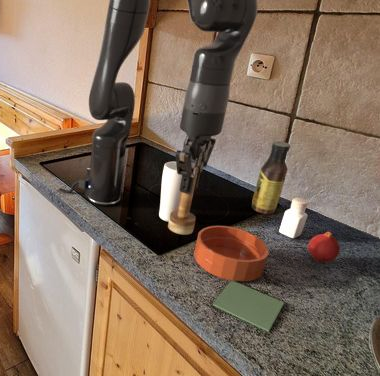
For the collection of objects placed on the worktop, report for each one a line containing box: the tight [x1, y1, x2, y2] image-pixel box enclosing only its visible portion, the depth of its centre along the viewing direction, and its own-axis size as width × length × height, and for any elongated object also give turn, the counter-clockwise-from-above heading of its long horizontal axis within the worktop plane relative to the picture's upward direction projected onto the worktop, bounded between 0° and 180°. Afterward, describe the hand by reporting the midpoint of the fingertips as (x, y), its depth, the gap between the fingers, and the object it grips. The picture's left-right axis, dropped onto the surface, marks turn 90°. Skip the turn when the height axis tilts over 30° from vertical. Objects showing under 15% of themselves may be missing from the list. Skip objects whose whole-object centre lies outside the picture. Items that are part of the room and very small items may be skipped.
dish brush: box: [167, 167, 198, 236], centre depth 83 cm, size 5×5×14 cm
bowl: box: [193, 225, 270, 282], centre depth 89 cm, size 14×14×6 cm
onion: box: [307, 231, 341, 264], centre depth 90 cm, size 6×6×8 cm
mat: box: [212, 280, 285, 333], centre depth 78 cm, size 10×10×1 cm
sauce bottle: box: [251, 140, 291, 215], centre depth 109 cm, size 6×6×20 cm
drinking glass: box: [158, 161, 182, 223], centre depth 105 cm, size 7×7×15 cm
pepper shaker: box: [278, 197, 309, 239], centre depth 100 cm, size 4×4×10 cm
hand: (188, 189), depth 82 cm, fingers closed on dish brush
